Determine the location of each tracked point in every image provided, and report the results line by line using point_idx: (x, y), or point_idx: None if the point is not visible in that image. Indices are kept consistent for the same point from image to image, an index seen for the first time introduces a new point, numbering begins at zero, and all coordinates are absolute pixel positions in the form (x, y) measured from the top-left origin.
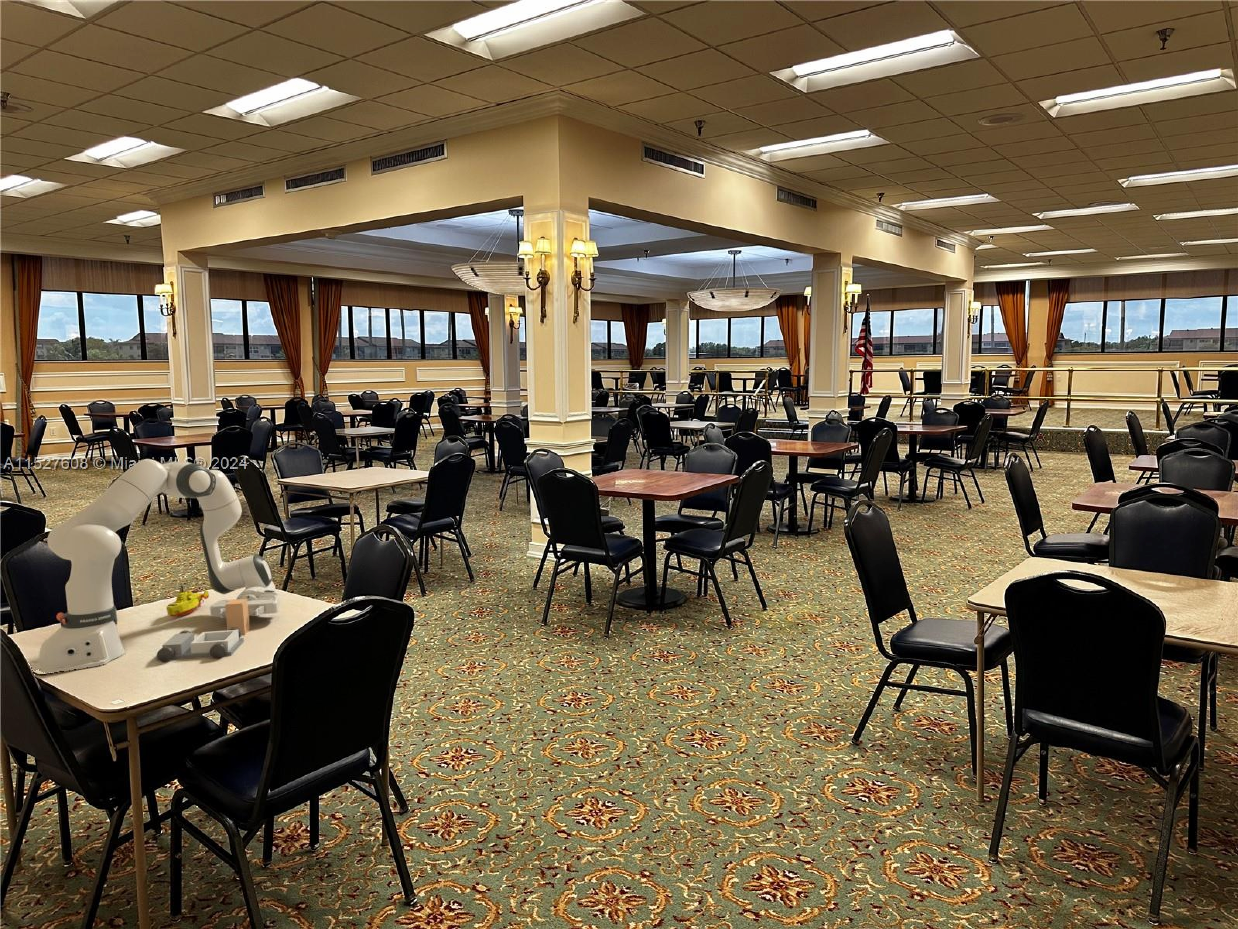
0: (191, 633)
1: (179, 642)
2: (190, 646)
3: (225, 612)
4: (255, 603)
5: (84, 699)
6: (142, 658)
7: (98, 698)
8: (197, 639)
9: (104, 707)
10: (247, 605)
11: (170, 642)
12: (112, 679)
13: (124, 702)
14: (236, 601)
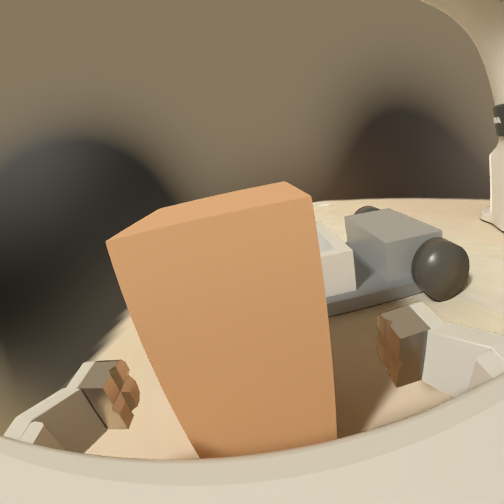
0: (387, 239)
1: (358, 217)
2: (370, 266)
3: (383, 322)
4: (40, 454)
5: (372, 199)
6: (447, 239)
7: (356, 202)
8: (319, 230)
9: (327, 201)
10: (134, 311)
11: (385, 213)
12: (397, 211)
13: (313, 205)
14: (211, 203)
